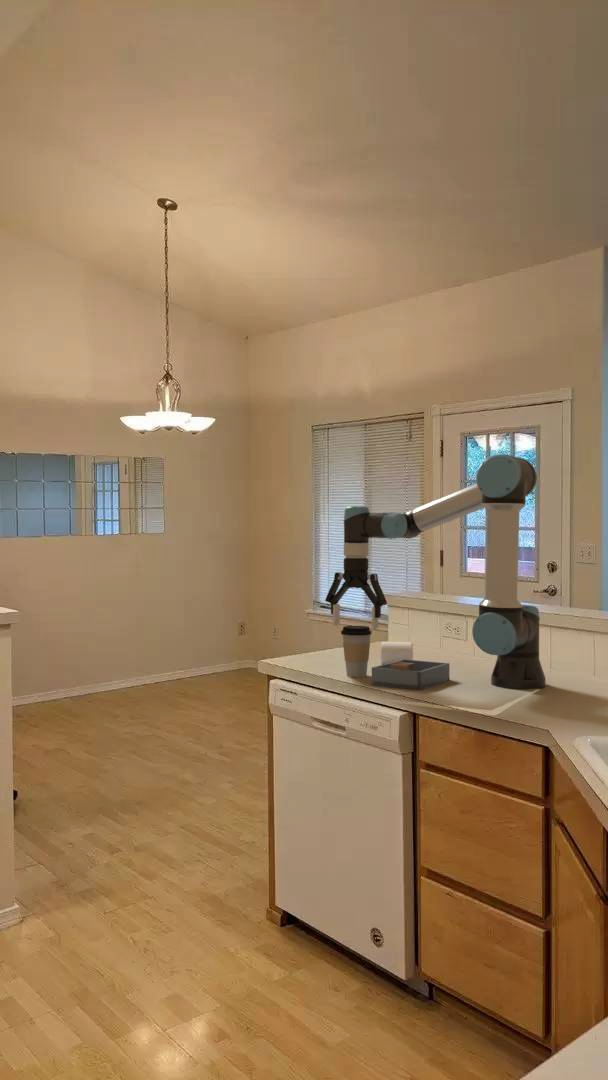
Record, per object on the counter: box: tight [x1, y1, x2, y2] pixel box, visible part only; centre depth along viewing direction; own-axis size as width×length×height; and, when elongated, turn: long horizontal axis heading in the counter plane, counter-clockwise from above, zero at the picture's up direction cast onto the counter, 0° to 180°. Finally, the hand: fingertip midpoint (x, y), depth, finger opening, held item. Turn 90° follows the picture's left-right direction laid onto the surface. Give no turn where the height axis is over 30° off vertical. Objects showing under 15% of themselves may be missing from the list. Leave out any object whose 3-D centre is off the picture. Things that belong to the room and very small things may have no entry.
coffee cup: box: [340, 625, 372, 678], centre depth 259 cm, size 9×9×15 cm
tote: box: [371, 659, 450, 691], centre depth 248 cm, size 15×20×5 cm
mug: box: [380, 641, 414, 665], centre depth 281 cm, size 12×10×8 cm
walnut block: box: [391, 662, 414, 671], centre depth 243 cm, size 5×5×5 cm
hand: (355, 627), depth 259 cm, fingers open, 13 cm apart
